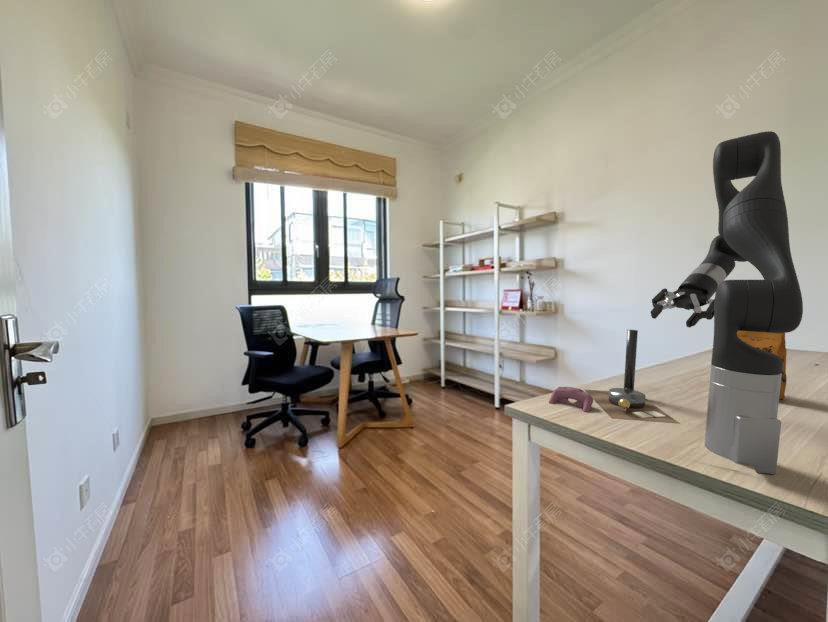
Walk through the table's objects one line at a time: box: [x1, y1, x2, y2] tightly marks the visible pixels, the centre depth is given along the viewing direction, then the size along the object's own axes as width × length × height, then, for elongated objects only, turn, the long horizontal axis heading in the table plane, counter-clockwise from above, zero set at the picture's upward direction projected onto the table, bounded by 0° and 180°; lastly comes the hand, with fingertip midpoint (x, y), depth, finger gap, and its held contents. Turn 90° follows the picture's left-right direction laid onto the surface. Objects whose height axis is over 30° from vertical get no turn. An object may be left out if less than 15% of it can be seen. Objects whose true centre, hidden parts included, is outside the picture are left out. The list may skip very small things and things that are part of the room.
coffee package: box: [737, 331, 788, 400], centre depth 100 cm, size 10×12×22 cm
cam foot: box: [608, 329, 646, 411], centre depth 88 cm, size 18×8×18 cm, turn 145°
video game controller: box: [548, 386, 594, 413], centre depth 87 cm, size 10×5×7 cm, turn 47°
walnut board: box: [583, 389, 681, 424], centre depth 88 cm, size 22×14×2 cm, turn 169°
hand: (669, 320), depth 92 cm, fingers open, 8 cm apart
